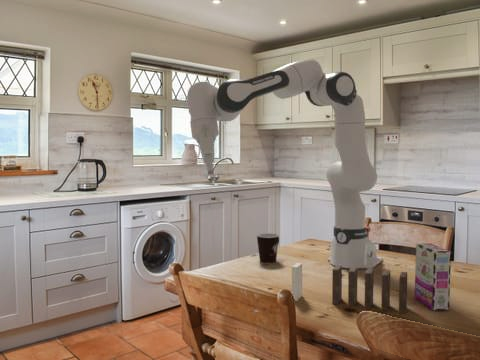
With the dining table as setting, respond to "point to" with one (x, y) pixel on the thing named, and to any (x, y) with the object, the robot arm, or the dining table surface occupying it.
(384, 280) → the domino
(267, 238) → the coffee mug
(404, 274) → the domino
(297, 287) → the ivory domino
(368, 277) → the domino
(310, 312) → the dining table surface
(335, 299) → the domino
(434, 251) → the candy bar box
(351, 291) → the domino
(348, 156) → the robot arm
